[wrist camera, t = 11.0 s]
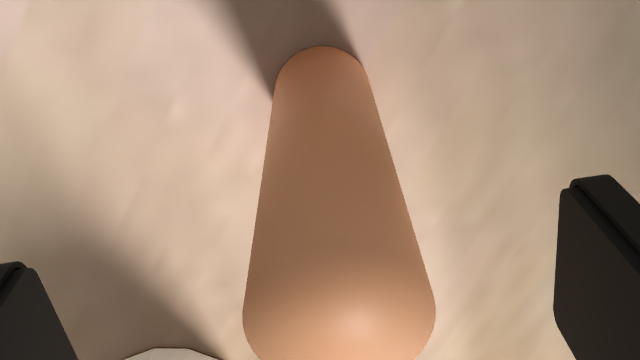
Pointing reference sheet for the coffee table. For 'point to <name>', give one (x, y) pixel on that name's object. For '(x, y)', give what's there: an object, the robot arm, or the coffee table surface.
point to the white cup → (170, 355)
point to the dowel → (332, 226)
